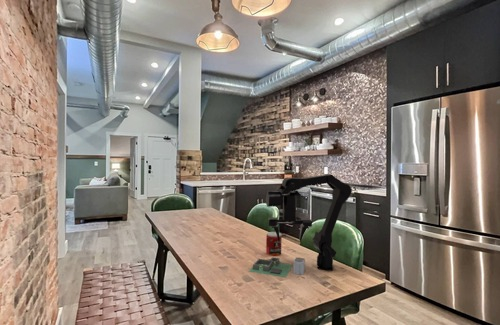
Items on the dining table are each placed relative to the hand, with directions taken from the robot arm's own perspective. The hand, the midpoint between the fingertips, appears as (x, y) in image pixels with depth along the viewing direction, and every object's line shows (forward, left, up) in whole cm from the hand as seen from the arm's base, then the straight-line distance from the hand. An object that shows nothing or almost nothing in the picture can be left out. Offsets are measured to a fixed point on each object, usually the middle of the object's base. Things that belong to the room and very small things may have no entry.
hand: (289, 241), depth 124 cm
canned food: (+11, -15, -13) cm, 23 cm away
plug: (-5, +4, -12) cm, 14 cm away
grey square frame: (+10, +5, -11) cm, 16 cm away
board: (+7, +4, -12) cm, 15 cm away
